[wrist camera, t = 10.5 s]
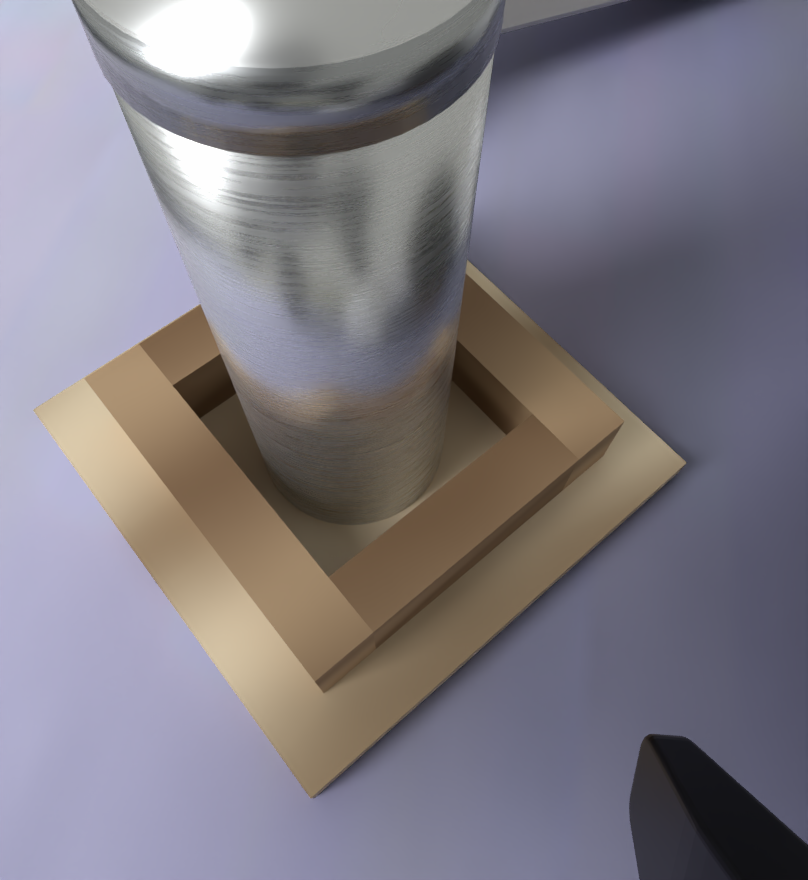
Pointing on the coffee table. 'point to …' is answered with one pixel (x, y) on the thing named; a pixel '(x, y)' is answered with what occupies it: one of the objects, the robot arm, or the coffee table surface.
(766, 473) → the coffee table surface
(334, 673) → the jig
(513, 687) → the coffee table surface
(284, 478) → the metal canister
